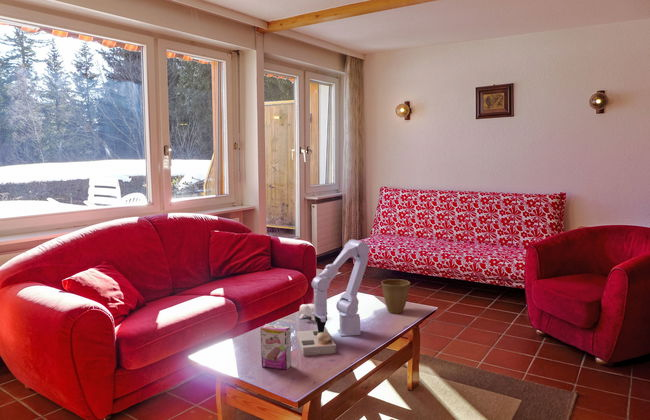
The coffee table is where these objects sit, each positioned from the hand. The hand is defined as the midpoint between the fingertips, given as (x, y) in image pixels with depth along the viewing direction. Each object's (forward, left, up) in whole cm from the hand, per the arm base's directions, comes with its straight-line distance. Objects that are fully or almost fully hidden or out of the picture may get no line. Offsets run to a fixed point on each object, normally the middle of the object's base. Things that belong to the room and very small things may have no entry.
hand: (320, 332), depth 231 cm
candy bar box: (+22, +24, -4) cm, 33 cm away
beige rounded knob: (0, +8, -1) cm, 8 cm away
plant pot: (-46, -31, -4) cm, 55 cm away
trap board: (+3, +4, -3) cm, 7 cm away
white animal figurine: (+1, -31, -4) cm, 31 cm away
